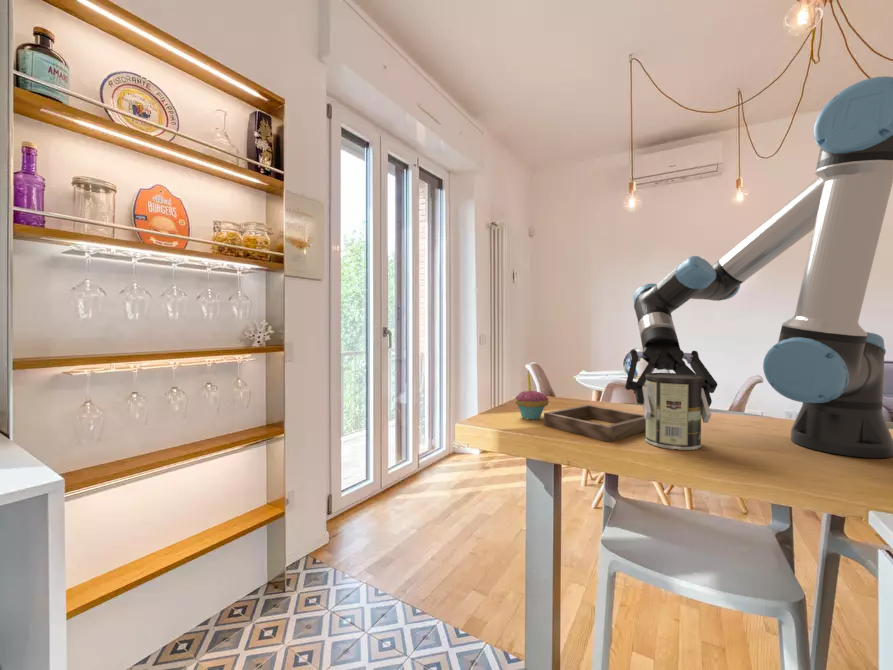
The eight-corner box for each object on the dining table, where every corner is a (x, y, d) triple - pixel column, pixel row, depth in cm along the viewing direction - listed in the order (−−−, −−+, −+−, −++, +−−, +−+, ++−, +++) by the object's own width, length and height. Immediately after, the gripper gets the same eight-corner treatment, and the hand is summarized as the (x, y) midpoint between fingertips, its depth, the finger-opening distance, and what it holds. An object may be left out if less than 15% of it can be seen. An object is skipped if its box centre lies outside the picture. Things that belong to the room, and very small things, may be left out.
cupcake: (509, 415, 112) (509, 370, 112) (537, 413, 115) (538, 369, 114) (524, 422, 104) (525, 374, 104) (554, 420, 106) (555, 373, 106)
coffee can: (683, 436, 91) (684, 372, 91) (712, 451, 81) (714, 378, 80) (636, 436, 91) (637, 372, 91) (659, 450, 81) (660, 378, 81)
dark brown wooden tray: (651, 429, 97) (651, 416, 97) (608, 441, 87) (608, 427, 87) (587, 415, 111) (587, 404, 111) (543, 425, 101) (544, 412, 101)
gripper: (707, 347, 98) (735, 430, 83) (605, 346, 103) (614, 424, 88) (716, 325, 93) (748, 409, 78) (608, 324, 98) (618, 404, 83)
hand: (677, 417), depth 83 cm, fingers closed on coffee can, 10 cm apart
